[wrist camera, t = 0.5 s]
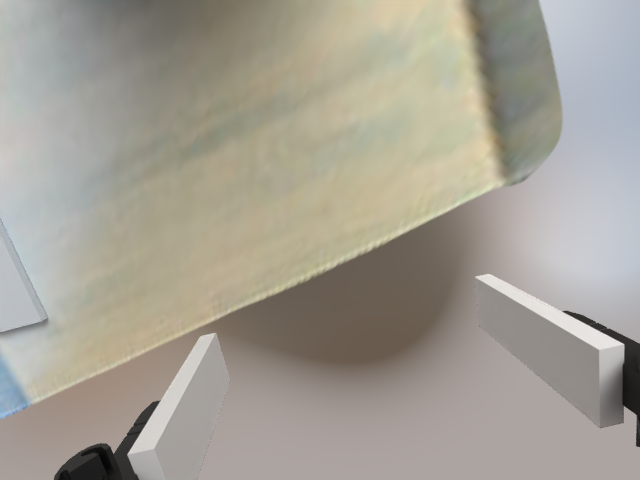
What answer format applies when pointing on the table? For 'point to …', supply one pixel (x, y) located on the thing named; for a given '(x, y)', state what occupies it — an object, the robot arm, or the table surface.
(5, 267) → the white flat board
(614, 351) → the robot arm
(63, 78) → the table surface
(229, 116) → the table surface
